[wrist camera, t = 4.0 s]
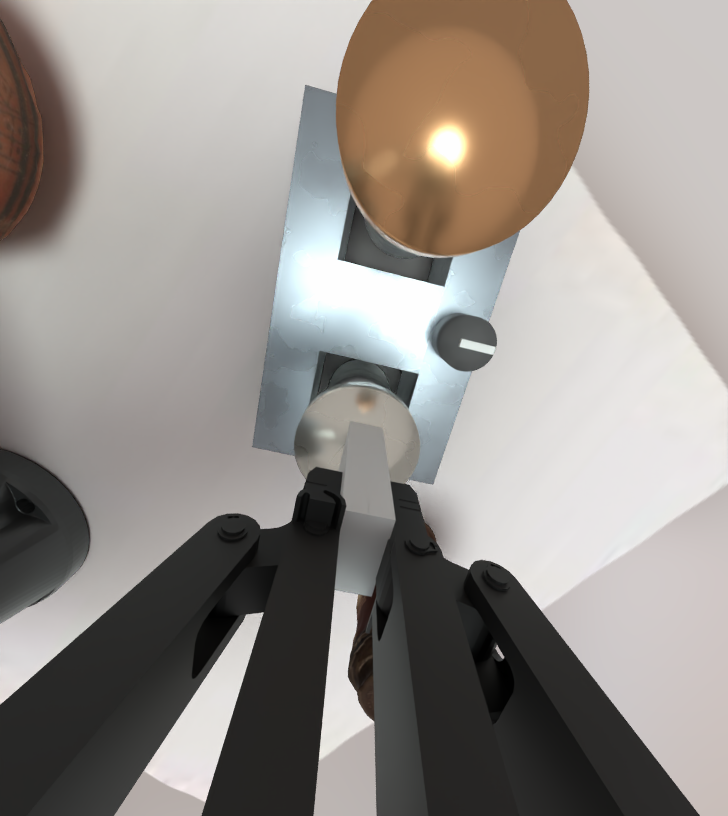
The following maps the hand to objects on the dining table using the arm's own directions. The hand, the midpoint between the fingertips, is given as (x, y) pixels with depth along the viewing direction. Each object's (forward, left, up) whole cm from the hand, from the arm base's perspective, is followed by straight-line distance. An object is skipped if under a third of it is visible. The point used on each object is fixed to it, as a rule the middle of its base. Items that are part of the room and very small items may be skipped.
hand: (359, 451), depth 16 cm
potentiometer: (+4, +5, -6) cm, 9 cm away
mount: (0, +5, -12) cm, 13 cm away
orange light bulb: (0, +11, -6) cm, 12 cm away
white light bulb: (0, 0, -10) cm, 10 cm away
